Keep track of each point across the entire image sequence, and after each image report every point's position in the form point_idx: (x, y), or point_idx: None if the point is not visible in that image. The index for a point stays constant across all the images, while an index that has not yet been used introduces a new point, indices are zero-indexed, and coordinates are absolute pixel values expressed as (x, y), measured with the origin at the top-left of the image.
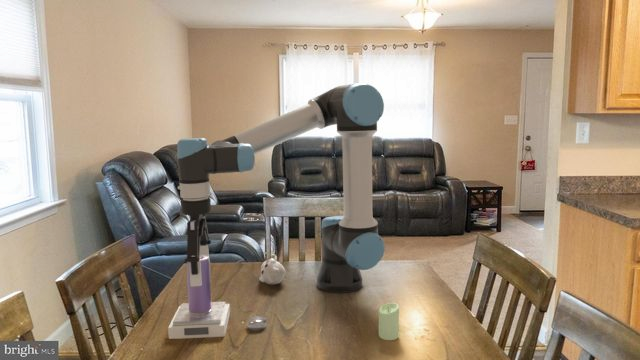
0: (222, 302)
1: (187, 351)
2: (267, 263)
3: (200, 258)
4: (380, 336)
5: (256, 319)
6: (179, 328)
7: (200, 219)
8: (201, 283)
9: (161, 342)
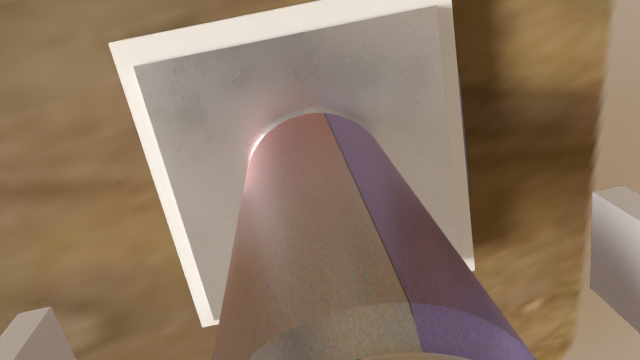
0: (155, 83)
1: (573, 116)
2: None
3: None
4: None
5: None
6: (468, 218)
7: None
8: (633, 196)
9: (484, 258)
